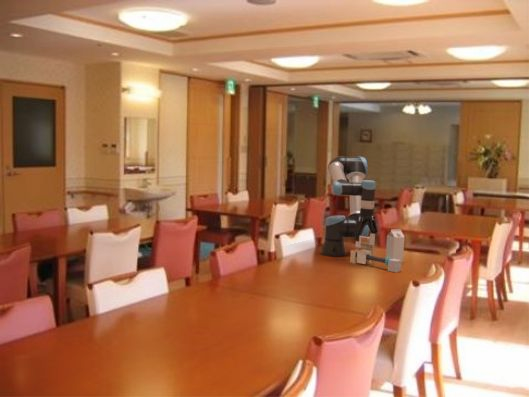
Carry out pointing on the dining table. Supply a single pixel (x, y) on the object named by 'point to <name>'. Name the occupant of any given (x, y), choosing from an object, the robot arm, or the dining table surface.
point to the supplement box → (366, 244)
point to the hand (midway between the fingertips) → (365, 246)
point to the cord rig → (393, 264)
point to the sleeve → (363, 256)
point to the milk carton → (395, 244)
